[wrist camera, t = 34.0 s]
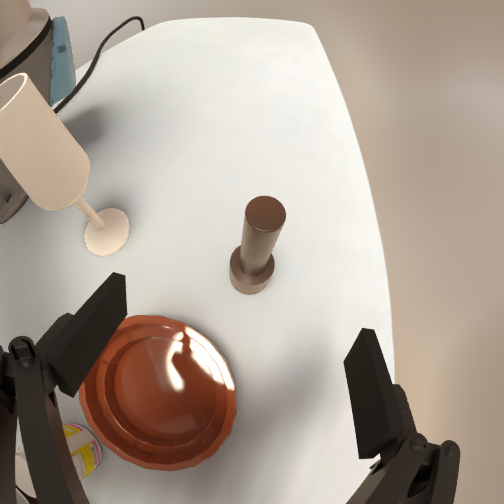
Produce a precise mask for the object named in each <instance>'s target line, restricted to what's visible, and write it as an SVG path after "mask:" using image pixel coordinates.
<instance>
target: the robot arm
mask: <svg viewBox="0 0 504 504" xmlns="http://www.w3.org/2000/svg"><path fill="white" fill-rule="evenodd" d="M134 19H137V20H139V21H140V23H141V28H142V31H144V30H145V27H144V22H143V20H142V18H141V17H137V16H136V17H132V18H129V19H128V20H126V21H125V22H123V23H122V24H121V25H120V26H118V27H117V28H116V29H114V30H113V31H112V32H111V33H110V34H109V35H108V36H107V37H106V38H105V39H104V41H103V42H102V43H101V45H100V47H99V49H98V50H97V53H96V55H95V57H94V59H93V61H92V63H91V65H90V67H89V69H88V71H87V72H86V74H85V75H84V77H83V78H82V79H81V81H80V82H79V83H78V84H77V86H76V87H75V85H76V76H75V68H74V62H73V55H72V49H71V43H70V38H69V32H68V27H67V23H66V21H65V18H64V17H63V16H61V17H55V18H54V19H53V20H51V19H50V16H49V14H48V12H47V11H46V9H43V8H31V6H30V4H29V1H28V0H0V84H1V83H3V82H4V81H6V80H7V79H8V78H10V77H12V76H14V75H16V74H19V73H26V74H27V75H28V77H29V78H30V80H31V81H32V82H33V84H34V85H35V87H36V88H37V90H38V91H39V92H40V94H41V95H42V96H43V98H44V99H45V101H46V102H47V103H48V105H49V106H50V107H52V106H53V105H54V104H55V103H56V102H58V101H60V100H61V99H63V98H65V97H66V96H67V97H66V98H65V99H64V100H63V101H62V102H61V103H60V104H59V105H58V106H57V107H56V108H55V109H54V110H53V111H54V113H56V112H57V111H58V110H59V109H60V108H61V107H62V106H63V105H64V104H65V103H66V102H67V101H68V100H69V99H70V98H71V97H72V96H73V95H74V94H75V93H76V91H77V90H78V89H79V88H80V87H81V85H82V84H83V83H84V82H85V80H86V79H87V77H88V76H89V74H90V73H91V71H92V69H93V67H94V65H95V63H96V60H97V58H98V56H99V54H100V52H101V49H102V47H103V46H104V44H105V43H106V42H107V40H108V39H109V38H110V37H111V36H112V35H113V34H114V33H115V32H116V31H118V30H119V29H120V28H122V27H123V26H124V25H125V24H127V23H128V22H130V21H131V20H134ZM27 197H28V194H27V193H26V192H25V191H24V189H23V188H22V187H21V185H20V184H19V183H18V182H17V180H16V179H15V178H14V176H13V175H12V174H11V172H10V171H9V169H8V168H7V167H6V165H5V164H4V163H3V161H2V160H1V158H0V223H2V222H4V221H6V220H7V219H9V218H10V217H11V216H12V215H14V214H15V213H16V212H17V210H18V209H19V208H20V207H21V206H22V204H23V203H24V202H25V200H26V199H27ZM126 316H127V302H126V282H125V275H122V274H118V273H115V272H113V273H112V274H111V275H110V276H109V277H108V278H107V279H106V280H105V282H104V283H103V284H102V285H101V286H100V287H99V288H98V289H97V290H96V291H95V292H94V293H93V295H92V296H91V297H90V298H89V299H88V300H87V301H86V302H85V303H84V305H83V306H82V307H81V308H80V309H79V310H78V311H77V313H76V314H75V315H72V314H70V313H66V314H64V315H62V316H61V317H59V318H58V319H57V320H56V321H55V323H54V324H53V325H52V326H51V327H50V328H49V330H48V331H47V332H46V333H45V334H44V335H43V336H42V338H41V339H40V340H39V341H38V342H37V343H36V345H35V346H34V343H33V341H32V340H31V339H30V338H29V337H26V336H19V337H16V338H14V339H13V340H12V341H11V342H10V344H9V346H8V350H9V352H10V353H7V352H4V351H3V348H2V346H1V345H0V504H17V498H16V481H15V448H16V430H17V418H19V425H20V431H21V437H22V442H23V448H24V452H25V457H26V461H27V465H28V469H29V473H30V477H31V481H32V484H33V487H34V491H35V494H36V497H37V500H38V503H39V504H89V502H88V499H87V497H86V495H85V492H84V490H83V487H82V485H81V482H80V479H79V477H78V474H77V471H76V469H75V466H74V463H73V460H72V457H71V454H70V450H69V447H68V444H67V440H66V437H65V433H64V429H63V426H62V422H61V418H60V413H59V409H58V404H57V399H56V394H55V391H54V388H55V387H56V385H58V387H59V389H60V391H61V392H63V393H65V394H67V395H69V396H71V397H73V398H74V396H75V395H76V393H77V391H78V390H79V388H80V386H81V385H82V383H83V381H84V380H85V378H86V376H87V375H88V373H89V372H90V370H91V368H92V367H93V365H94V364H95V362H96V361H97V359H98V358H99V356H100V354H101V353H102V351H103V350H104V348H105V347H106V345H107V344H108V342H109V341H110V339H111V338H112V336H113V335H114V333H115V332H116V330H117V329H118V327H119V326H120V324H121V323H122V321H123V320H124V318H125V317H126ZM344 367H345V373H346V378H347V384H348V389H349V395H350V401H351V407H352V413H353V419H354V426H355V433H356V440H357V447H358V454H359V459H371V458H374V457H375V456H377V455H378V454H379V453H380V457H381V459H380V460H378V461H377V462H376V463H375V464H373V465H372V466H371V467H370V469H372V468H373V469H372V470H371V472H370V473H369V475H368V476H367V477H366V479H365V480H364V481H363V483H362V484H361V485H360V487H359V488H358V489H357V491H356V492H355V493H354V494H353V496H352V497H351V498H350V499H349V501H348V502H347V503H346V504H453V502H454V497H455V492H456V485H457V479H458V471H459V462H460V449H459V446H458V445H457V444H456V443H455V442H453V441H451V440H447V441H445V442H443V443H442V444H441V445H436V444H432V443H428V441H427V439H426V438H425V437H424V436H423V435H422V434H420V433H417V431H416V427H415V424H414V420H413V417H412V414H411V410H410V409H409V404H408V402H407V397H406V394H405V392H404V390H403V389H402V388H401V386H400V385H398V384H392V381H391V378H390V375H389V372H388V369H387V366H386V362H385V359H384V357H383V354H382V351H381V348H380V345H379V342H378V339H377V336H376V334H375V331H374V330H373V329H367V328H362V329H361V331H360V333H359V335H358V337H357V339H356V340H355V342H354V344H353V346H352V348H351V349H350V351H349V353H348V355H347V356H346V358H345V360H344Z"/></svg>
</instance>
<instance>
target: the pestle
mask: <svg viewBox="0 0 504 504" xmlns="http://www.w3.org/2000/svg"><path fill="white" fill-rule="evenodd" d="M285 219H286V212H285V209H284V207H283V205H282V204H281V203H280V202H279V201H278V200H277V199H275V198H273V197H270V196H259V197H256V198H254V199H252V200H251V201H250V202H249V203H248V205H247V207H246V210H245V217H244V225H243V234H242V242H241V245H240V246H239V247H237V248H236V249H235V250H234V252H233V253H232V255H231V259H230V280H231V283H232V285H233V286H234V288H235V289H236V290H238V291H239V292H241V293H244V294H255V293H258V292H259V291H261V290H262V289H263V288H264V287H265V285H266V284H267V282H268V280H269V279H270V277H271V275H272V273H273V271H274V258H273V255H272V254H271V252H272V250H273V248H274V245H275V243H276V241H277V238H278V236H279V234H280V231H281V229H282V227H283V224H284V222H285Z"/></svg>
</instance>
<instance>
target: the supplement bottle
mask: <svg viewBox="0 0 504 504" xmlns="http://www.w3.org/2000/svg"><path fill="white" fill-rule="evenodd" d="M62 426H63V429H64V433H65V437H66V440H67V444H68V447H69V450H70V454H71V457H72V460H73V463H74V466H75V469H76V471H77V474H78V477H79V479H80V481H81V480H82V479H83V478H84V477H86V476H87V475H88V474H89V473H90V472H92V471H93V470H94V469H95V468H96V467H97V466H98V465H99V463H100V461H101V449H100V446H99V444H98V442H97V440H96V438H95V437H94V436H93V435H92V434H91V433H90V432H89V431H88V430H87V429H85V428H84V427H82V426H80V425H78V424H73V423H68V424H64V425H62ZM15 481H16V485H17V486H18V487H19V488H20V489H21V490H22V491H23V492H24V493H26V494H27V495H29V496H31V497H34V498H37V497H36V494H35V491H34V487H33V484H32V481H31V477H30V473H29V469H28V465H27V461H26V457H25V452H24V448H23V442H21V444H20V445H19V448H18V453H15Z"/></svg>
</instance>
